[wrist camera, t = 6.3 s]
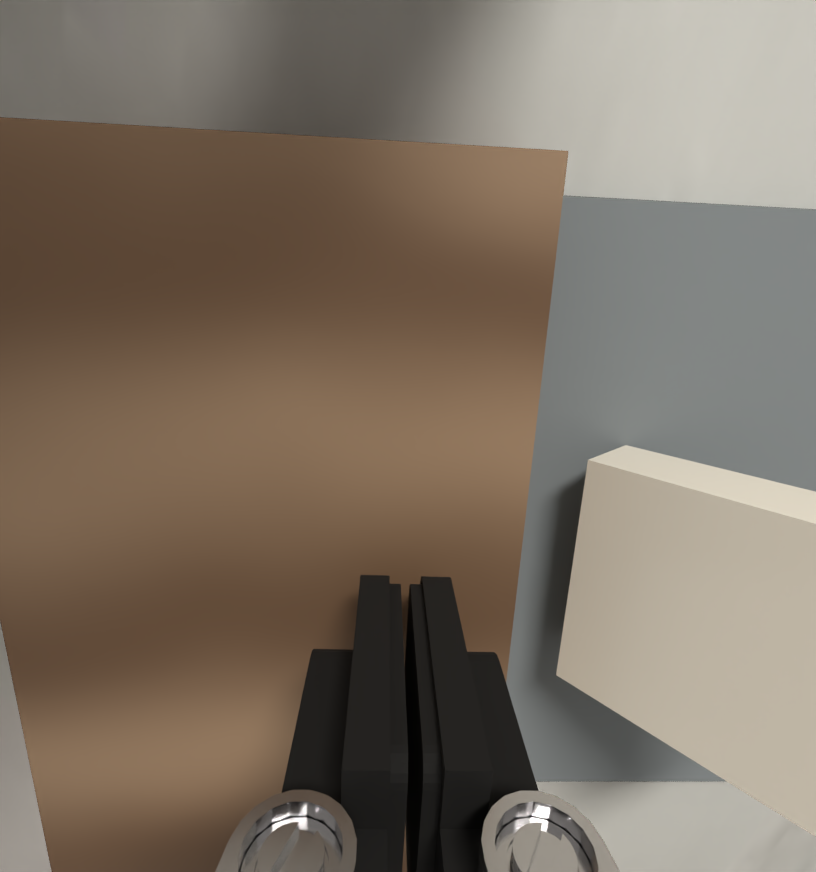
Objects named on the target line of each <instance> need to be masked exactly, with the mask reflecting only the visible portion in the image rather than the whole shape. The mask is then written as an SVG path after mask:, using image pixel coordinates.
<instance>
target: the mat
mask: <svg viewBox="0 0 816 872" xmlns="http://www.w3.org/2000/svg"><path fill="white" fill-rule="evenodd" d="M625 445H628V446H632V447H636V448H640V449H644V450H648V451H652V452H656V453H660V454H664V455H668V456H673V457H677V458H681V459H685V460H689V461H693V462H697V463H701V464H705V465H709V466H713V467H717V468H721V469H725V470H730V471H734V472H738V473H742V474H746V475H750V476H754V477H758V478H762V479H766V480H770V481H774V482H778V483H782V484H786V485H791V486H795V487H799V488H803V489H807V490H811V491H815V492H816V209H798V208H780V207H762V206H744V205H725V204H707V203H689V202H671V201H653V200H635V199H617V198H599V197H580V196H563V201H562V210H561V218H560V227H559V235H558V244H557V252H556V261H555V270H554V278H553V287H552V295H551V304H550V312H549V321H548V329H547V338H546V347H545V355H544V364H543V372H542V381H541V389H540V398H539V406H538V415H537V423H536V432H535V441H534V449H533V458H532V466H531V475H530V483H529V492H528V500H527V509H526V518H525V526H524V535H523V543H522V552H521V560H520V569H519V577H518V586H517V595H516V603H515V612H514V620H513V629H512V637H511V646H510V654H509V663H508V671H507V680H506V684H507V688H508V691H509V694H510V698H511V701H512V704H513V708H514V711H515V714H516V718H517V721H518V724H519V728H520V731H521V734H522V738H523V741H524V744H525V748H526V751H527V754H528V758H529V761H530V764H531V768H532V771H533V774H534V778H535V781H725V780H724V779H722V778H721V777H719V776H717V775H716V774H714V773H713V772H711V771H709V770H708V769H706V768H705V767H703V766H701V765H700V764H698V763H696V762H695V761H693V760H692V759H690V758H688V757H687V756H685V755H684V754H682V753H680V752H679V751H677V750H676V749H674V748H672V747H671V746H669V745H668V744H666V743H664V742H663V741H661V740H660V739H658V738H656V737H655V736H653V735H652V734H650V733H648V732H647V731H645V730H644V729H642V728H640V727H639V726H637V725H635V724H634V723H632V722H631V721H629V720H627V719H626V718H624V717H623V716H621V715H619V714H618V713H616V712H615V711H613V710H611V709H610V708H608V707H607V706H605V705H603V704H602V703H600V702H599V701H597V700H595V699H594V698H592V697H591V696H589V695H587V694H586V693H584V692H583V691H581V690H579V689H578V688H576V687H575V686H573V685H571V684H570V683H568V682H566V681H565V680H563V679H562V678H560V677H558V676H557V675H556V672H557V665H558V659H559V652H560V645H561V638H562V632H563V625H564V618H565V612H566V605H567V598H568V591H569V585H570V578H571V571H572V564H573V558H574V551H575V544H576V537H577V531H578V524H579V517H580V510H581V504H582V497H583V490H584V483H585V477H586V470H587V463H588V460H589V459H591V458H594V457H597V456H599V455H602V454H604V453H607V452H609V451H612V450H615V449H617V448H620V447H622V446H625Z"/></svg>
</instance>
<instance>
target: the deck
mask: <svg viewBox="0 0 816 872" xmlns="http://www.w3.org/2000/svg"><path fill="white" fill-rule="evenodd" d="M567 158H568V151H559V150H542V149H525V148H508V147H492V146H475V145H458V144H441V143H424V142H407V141H391V140H374V139H357V138H340V137H323V136H307V135H290V134H273V133H256V132H239V131H223V130H206V129H189V128H172V127H155V126H139V125H122V124H105V123H88V122H71V121H54V120H38V119H21V118H4V117H0V622H1V627H2V631H3V636H4V641H5V646H6V651H7V656H8V661H9V666H10V670H11V675H12V680H13V685H14V690H15V695H16V700H17V705H18V709H19V714H20V719H21V724H22V729H23V734H24V739H25V743H26V748H27V753H28V758H29V763H30V768H31V773H32V778H33V782H34V787H35V792H36V797H37V802H38V807H39V812H40V817H41V821H42V826H43V831H44V836H45V841H46V846H47V851H48V856H49V860H50V865H51V870H52V872H215V871H216V869H217V866H218V864H219V862H220V860H221V857H222V855H223V853H224V850H225V848H226V846H227V843H228V841H229V839H230V838H231V836H232V834H233V833H234V831H235V829H236V828H237V826H238V824H239V823H240V821H241V820H242V819H243V818H244V817H245V816H246V815H247V814H248V813H249V812H250V811H251V810H252V809H253V808H254V807H255V806H256V805H258V804H260V803H261V802H263V801H265V800H266V799H268V798H270V797H271V796H273V795H276V794H279V793H282V788H283V783H284V779H285V774H286V769H287V764H288V760H289V755H290V750H291V745H292V741H293V736H294V731H295V727H296V722H297V717H298V712H299V708H300V703H301V698H302V693H303V689H304V684H305V679H306V675H307V670H308V665H309V660H310V656H311V652H312V650H313V649H350V650H353V647H354V636H355V626H356V616H357V605H358V595H359V585H360V575H389V577H390V583H391V584H401V599H402V622H403V645H404V667H405V650H406V634H407V617H408V600H409V586H410V584H420V580H421V576H430V577H451V580H452V584H453V589H454V594H455V598H456V603H457V607H458V612H459V617H460V621H461V626H462V630H463V635H464V639H465V644H466V649H467V652H495V653H496V654H497V656H498V658H499V661H500V664H501V668H502V671H503V674H504V678H505V681H506V680H507V671H508V663H509V654H510V646H511V637H512V629H513V620H514V612H515V603H516V595H517V586H518V577H519V569H520V560H521V552H522V543H523V535H524V526H525V518H526V509H527V500H528V492H529V483H530V475H531V466H532V458H533V449H534V441H535V432H536V423H537V415H538V406H539V398H540V389H541V381H542V372H543V364H544V355H545V347H546V338H547V329H548V321H549V312H550V304H551V295H552V287H553V278H554V270H555V261H556V252H557V244H558V235H559V227H560V218H561V210H562V201H563V193H564V184H565V176H566V167H567ZM402 872H407V857H406V826H405V836H404V851H403V866H402Z"/></svg>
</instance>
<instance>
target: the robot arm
mask: <svg viewBox="0 0 816 872" xmlns="http://www.w3.org/2000/svg"><path fill="white" fill-rule="evenodd" d="M405 826H406V857H407V872H620V871H619V869H618V867H617V865H616V863H615V861H614V859H613V857H612V856H611V854H610V852H609V850H608V848H607V846H606V844H605V842H604V841H603V839H602V838H601V836H600V835H599V833H598V832H597V830H596V829H595V827H594V826H593V825H592V823H591V822H590V821H589V820H588V819H587V818H586V817H585V816H584V815H583V814H582V813H581V812H580V811H579V810H577V809H576V808H575V807H574V806H572V805H571V804H569V803H567V802H565V801H564V800H562V799H560V798H559V797H557V796H554V795H551V794H547V793H544V792H540V791H538V788H537V784H536V781H535V778H534V774H533V771H532V768H531V764H530V761H529V758H528V754H527V751H526V748H525V744H524V741H523V738H522V734H521V731H520V728H519V724H518V721H517V718H516V714H515V711H514V708H513V704H512V701H511V698H510V694H509V691H508V688H507V684H506V681H505V678H504V674H503V671H502V668H501V664H500V661H499V658H498V656H497V654H496V653H495V652H467V649H466V644H465V639H464V635H463V630H462V626H461V621H460V617H459V612H458V607H457V603H456V598H455V594H454V589H453V584H452V580H451V577H430V576H421V580H420V584H410V586H409V600H408V617H407V634H406V650H405V667H404V645H403V622H402V599H401V584H391V583H390V577H389V575H360V585H359V595H358V605H357V616H356V626H355V636H354V647H353V650H350V649H313V650H312V652H311V656H310V660H309V665H308V670H307V675H306V679H305V684H304V689H303V693H302V698H301V703H300V708H299V712H298V717H297V722H296V727H295V731H294V736H293V741H292V745H291V750H290V755H289V760H288V764H287V769H286V774H285V779H284V783H283V788H282V793H279V794H276V795H273V796H271V797H270V798H268V799H266V800H265V801H263V802H261V803H260V804H258V805H256V806H255V807H254V808H253V809H252V810H251V811H250V812H249V813H248V814H247V815H246V816H245V817H244V818H243V819H242V820H241V821H240V823H239V824H238V826H237V828H236V829H235V831H234V833H233V834H232V836H231V838H230V839H229V841H228V843H227V846H226V848H225V850H224V853H223V855H222V857H221V860H220V862H219V864H218V866H217V869H216V871H215V872H402V866H403V851H404V836H405Z"/></svg>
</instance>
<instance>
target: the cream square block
mask: <svg viewBox="0 0 816 872" xmlns="http://www.w3.org/2000/svg"><path fill="white" fill-rule="evenodd" d="M556 675H557V676H558V677H560V678H562V679H563V680H565V681H566V682H568V683H570V684H571V685H573V686H575V687H576V688H578V689H579V690H581V691H583V692H584V693H586V694H587V695H589V696H591V697H592V698H594V699H595V700H597V701H599V702H600V703H602V704H603V705H605V706H607V707H608V708H610V709H611V710H613V711H615V712H616V713H618V714H619V715H621V716H623V717H624V718H626V719H627V720H629V721H631V722H632V723H634V724H635V725H637V726H639V727H640V728H642V729H644V730H645V731H647V732H648V733H650V734H652V735H653V736H655V737H656V738H658V739H660V740H661V741H663V742H664V743H666V744H668V745H669V746H671V747H672V748H674V749H676V750H677V751H679V752H680V753H682V754H684V755H685V756H687V757H688V758H690V759H692V760H693V761H695V762H696V763H698V764H700V765H701V766H703V767H705V768H706V769H708V770H709V771H711V772H713V773H714V774H716V775H717V776H719V777H721V778H722V779H724V780H725V781H727V782H729V783H730V784H732V785H733V786H735V787H737V788H738V789H740V790H741V791H743V792H745V793H746V794H748V795H749V796H751V797H753V798H754V799H756V800H757V801H759V802H761V803H762V804H764V805H766V806H767V807H769V808H770V809H772V810H774V811H775V812H777V813H778V814H780V815H782V816H783V817H785V818H786V819H788V820H790V821H791V822H793V823H794V824H796V825H798V826H799V827H801V828H802V829H804V830H806V831H807V832H809V833H810V834H812V835H814V836H815V837H816V492H815V491H811V490H807V489H803V488H799V487H795V486H791V485H786V484H782V483H778V482H774V481H770V480H766V479H762V478H758V477H754V476H750V475H746V474H742V473H738V472H734V471H730V470H725V469H721V468H717V467H713V466H709V465H705V464H701V463H697V462H693V461H689V460H685V459H681V458H677V457H673V456H668V455H664V454H660V453H656V452H652V451H648V450H644V449H640V448H636V447H632V446H628V445H625V446H622V447H620V448H617V449H615V450H612V451H609V452H607V453H604V454H602V455H599V456H597V457H594V458H591V459H589V460H588V463H587V470H586V477H585V483H584V490H583V497H582V504H581V510H580V517H579V524H578V531H577V537H576V544H575V551H574V558H573V564H572V571H571V578H570V585H569V591H568V598H567V605H566V612H565V618H564V625H563V632H562V638H561V645H560V652H559V659H558V665H557V672H556Z"/></svg>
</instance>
